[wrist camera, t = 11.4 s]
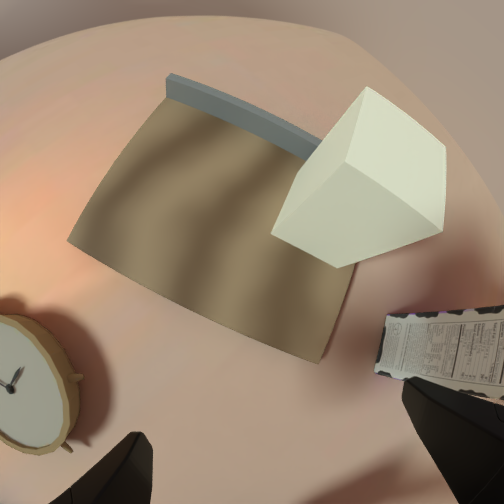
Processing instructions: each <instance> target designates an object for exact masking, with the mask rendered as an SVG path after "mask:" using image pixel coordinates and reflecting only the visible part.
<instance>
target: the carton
mask: <svg viewBox="0 0 504 504" xmlns="http://www.w3.org/2000/svg"><path fill="white" fill-rule="evenodd" d="M445 197H446V147H445V146H444V145H443V144H442V143H441V142H440V141H439V140H438V139H436V138H435V137H434V136H433V135H432V134H431V133H430V132H428V131H427V130H426V129H425V128H424V127H422V126H421V125H420V124H419V123H417V122H416V121H415V120H414V119H412V118H411V117H410V116H409V115H407V114H406V113H405V112H403V111H402V110H401V109H399V108H398V107H397V106H395V105H394V104H393V103H391V102H390V101H388V100H387V99H385V98H384V97H383V96H381V95H380V94H378V93H377V92H375V91H374V90H372V89H371V88H369V87H368V86H366V87H365V89H364V90H363V91H362V92H361V93H360V95H359V96H358V97H357V98H356V100H355V101H354V102H353V103H352V105H351V106H350V107H349V108H348V110H347V111H346V112H345V113H344V115H343V116H342V117H341V118H340V120H339V121H338V122H337V123H336V125H335V126H334V127H333V128H332V130H331V131H330V132H329V133H328V135H327V136H326V137H325V138H324V140H323V141H322V142H321V143H320V145H319V146H318V147H317V148H316V150H315V151H314V152H313V153H312V155H311V156H310V157H309V158H308V160H307V161H306V162H305V164H304V165H303V166H302V167H301V169H300V170H299V171H298V172H297V175H296V177H295V179H294V182H293V184H292V186H291V188H290V191H289V193H288V195H287V198H286V200H285V202H284V204H283V207H282V209H281V211H280V213H279V216H278V218H277V220H276V223H275V225H274V227H273V229H272V232H271V234H272V235H274V236H276V237H278V238H280V239H282V240H284V241H286V242H288V243H290V244H291V245H293V246H295V247H297V248H299V249H301V250H303V251H305V252H307V253H309V254H311V255H313V256H315V257H317V258H318V259H320V260H322V261H324V262H326V263H328V264H330V265H332V266H334V267H336V268H340V267H343V266H346V265H350V264H353V263H356V262H359V261H362V260H365V259H368V258H371V257H374V256H376V255H379V254H382V253H385V252H388V251H391V250H394V249H397V248H400V247H402V246H405V245H408V244H411V243H414V242H416V241H419V240H422V239H425V238H427V237H430V236H433V235H435V234H438V233H441V232H443V224H444V213H445Z"/></svg>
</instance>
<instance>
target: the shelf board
mask: <svg viewBox="0 0 504 504" xmlns="http://www.w3.org/2000/svg"><path fill="white" fill-rule="evenodd" d="M305 162H306V161H305V160H303V159H301V158H299V157H298V156H296V155H294V154H292V153H290V152H288V151H286V150H284V149H283V148H281V147H279V146H277V145H275V144H273V143H271V142H269V141H267V140H265V139H263V138H261V137H259V136H257V135H255V134H253V133H250V132H248V131H246V130H244V129H242V128H240V127H238V126H235V125H233V124H231V123H229V122H227V121H224V120H222V119H220V118H217V117H215V116H213V115H210V114H208V113H206V112H203V111H201V110H198V109H196V108H193V107H191V106H188V105H186V104H183V103H181V102H178V101H175V100H173V99H170V98H167V97H166V98H165V99H164V100H163V101H162V103H161V104H160V105H159V106H158V107H157V108H156V109H155V111H154V112H153V113H152V114H151V115H150V117H149V118H148V119H147V120H146V121H145V123H144V124H143V125H142V126H141V128H140V129H139V130H138V131H137V133H136V134H135V135H134V136H133V138H132V139H131V140H130V142H129V143H128V144H127V146H126V147H125V148H124V150H123V151H122V152H121V154H120V155H119V156H118V158H117V159H116V161H115V162H114V164H113V165H112V166H111V168H110V169H109V171H108V172H107V174H106V175H105V177H104V178H103V180H102V181H101V183H100V184H99V186H98V187H97V189H96V191H95V192H94V194H93V195H92V197H91V199H90V200H89V202H88V204H87V205H86V207H85V209H84V210H83V212H82V214H81V215H80V217H79V219H78V221H77V223H76V224H75V226H74V228H73V230H72V232H71V234H70V235H69V237H68V239H67V242H69V243H71V244H72V245H74V246H75V247H77V248H79V249H80V250H82V251H83V252H85V253H87V254H88V255H90V256H92V257H93V258H95V259H97V260H98V261H100V262H102V263H103V264H105V265H107V266H109V267H110V268H112V269H114V270H116V271H117V272H119V273H121V274H123V275H124V276H126V277H128V278H130V279H132V280H133V281H135V282H137V283H139V284H141V285H143V286H144V287H146V288H148V289H150V290H152V291H154V292H156V293H158V294H160V295H162V296H163V297H165V298H167V299H169V300H171V301H173V302H175V303H177V304H179V305H181V306H183V307H185V308H187V309H189V310H191V311H193V312H195V313H198V314H200V315H202V316H204V317H206V318H208V319H210V320H212V321H214V322H217V323H219V324H221V325H223V326H225V327H228V328H230V329H232V330H234V331H236V332H239V333H241V334H243V335H246V336H248V337H250V338H253V339H255V340H257V341H260V342H262V343H264V344H267V345H269V346H272V347H274V348H276V349H279V350H281V351H284V352H286V353H289V354H292V355H294V356H297V357H299V358H302V359H304V360H307V361H310V362H312V363H315V364H319V362H320V359H321V357H322V355H323V352H324V350H325V347H326V345H327V342H328V340H329V337H330V335H331V332H332V330H333V327H334V324H335V322H336V319H337V316H338V314H339V311H340V308H341V305H342V302H343V300H344V297H345V294H346V291H347V288H348V285H349V282H350V279H351V276H352V273H353V270H354V267H355V263H353V264H350V265H346V266H343V267H340V268H336V267H334V266H332V265H330V264H328V263H326V262H324V261H322V260H320V259H318V258H317V257H315V256H313V255H311V254H309V253H307V252H305V251H303V250H301V249H299V248H297V247H295V246H293V245H291V244H290V243H288V242H286V241H284V240H282V239H280V238H278V237H276V236H274V235H272V234H271V232H272V229H273V227H274V225H275V223H276V220H277V218H278V216H279V213H280V211H281V209H282V207H283V204H284V202H285V200H286V198H287V195H288V193H289V191H290V188H291V186H292V184H293V182H294V179H295V177H296V175H297V172H298V171H299V170H300V169H301V167H302V166H303V165H304V164H305Z"/></svg>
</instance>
